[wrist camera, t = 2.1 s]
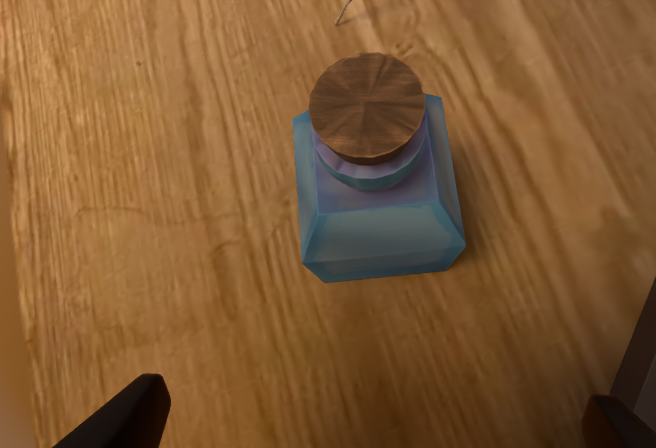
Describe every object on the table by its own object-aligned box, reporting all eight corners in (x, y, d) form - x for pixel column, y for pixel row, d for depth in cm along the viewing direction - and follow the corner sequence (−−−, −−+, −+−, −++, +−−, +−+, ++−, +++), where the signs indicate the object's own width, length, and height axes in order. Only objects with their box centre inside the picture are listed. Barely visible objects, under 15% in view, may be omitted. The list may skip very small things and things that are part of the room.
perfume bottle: (324, 282, 23) (259, 226, 12) (315, 171, 25) (251, 25, 13) (445, 270, 22) (505, 197, 11) (428, 157, 24) (464, -11, 12)
